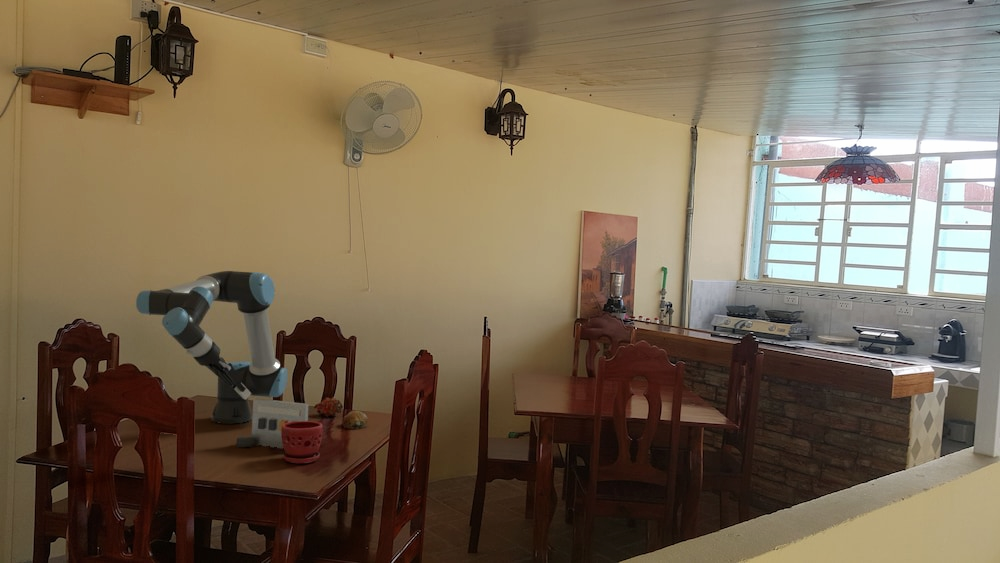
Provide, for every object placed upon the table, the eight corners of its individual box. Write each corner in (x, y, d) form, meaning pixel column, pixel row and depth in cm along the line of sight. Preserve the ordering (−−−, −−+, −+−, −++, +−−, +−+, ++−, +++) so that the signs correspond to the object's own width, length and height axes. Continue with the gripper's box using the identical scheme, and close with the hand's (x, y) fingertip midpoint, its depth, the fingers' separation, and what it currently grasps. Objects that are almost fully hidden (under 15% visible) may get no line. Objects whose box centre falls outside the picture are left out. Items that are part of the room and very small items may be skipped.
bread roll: (368, 434, 290) (372, 415, 293) (363, 429, 281) (366, 409, 284) (345, 432, 291) (348, 413, 294) (338, 427, 282) (342, 407, 285)
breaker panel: (249, 445, 251) (251, 400, 250) (254, 443, 254) (256, 398, 253) (301, 451, 247) (304, 405, 246) (306, 449, 250) (308, 404, 249)
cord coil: (232, 446, 248) (233, 439, 248) (242, 442, 254) (242, 435, 254) (248, 448, 247) (248, 441, 246) (257, 444, 252) (258, 437, 252)
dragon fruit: (344, 420, 303) (315, 423, 302) (345, 405, 309) (317, 408, 309) (340, 407, 297) (311, 409, 297) (342, 392, 304) (313, 394, 303)
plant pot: (327, 456, 243) (329, 421, 242) (310, 467, 230) (312, 430, 229) (291, 452, 245) (292, 418, 244) (272, 463, 232) (274, 426, 231)
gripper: (183, 355, 225) (228, 401, 239) (206, 361, 217) (251, 408, 231) (199, 337, 229) (243, 384, 243) (222, 342, 221) (266, 390, 235)
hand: (247, 396), depth 237 cm, fingers closed
